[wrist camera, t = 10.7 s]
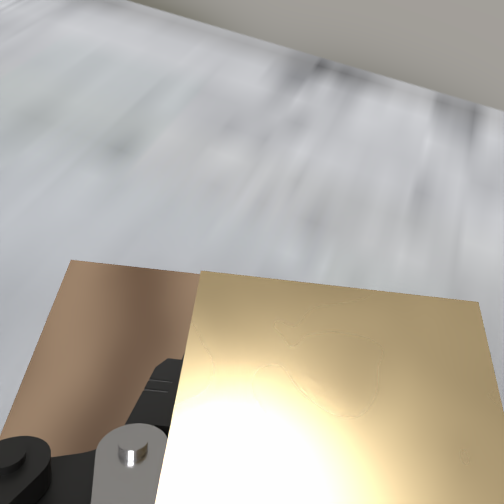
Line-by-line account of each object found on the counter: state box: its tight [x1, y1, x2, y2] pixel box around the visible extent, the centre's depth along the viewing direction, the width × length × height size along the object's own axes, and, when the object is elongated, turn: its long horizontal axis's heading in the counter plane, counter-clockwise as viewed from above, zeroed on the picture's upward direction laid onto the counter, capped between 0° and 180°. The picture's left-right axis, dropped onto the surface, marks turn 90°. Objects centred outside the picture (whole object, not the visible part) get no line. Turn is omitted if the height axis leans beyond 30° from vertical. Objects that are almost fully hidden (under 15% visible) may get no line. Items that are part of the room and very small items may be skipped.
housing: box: [155, 271, 504, 504], centre depth 10 cm, size 5×5×10 cm
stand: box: [0, 260, 200, 457], centre depth 17 cm, size 20×14×2 cm
